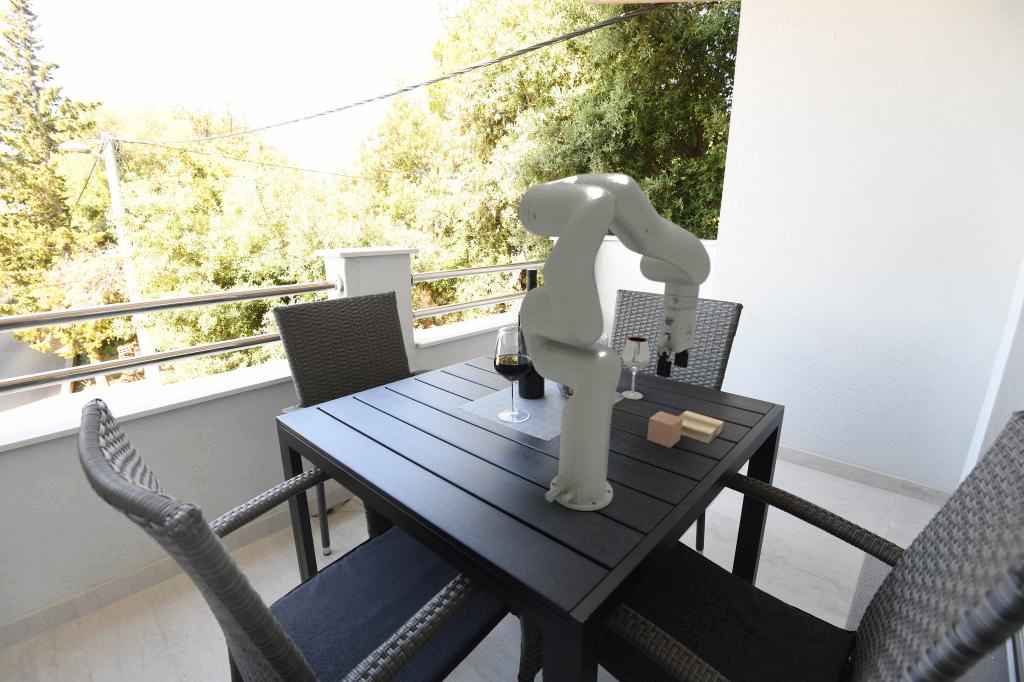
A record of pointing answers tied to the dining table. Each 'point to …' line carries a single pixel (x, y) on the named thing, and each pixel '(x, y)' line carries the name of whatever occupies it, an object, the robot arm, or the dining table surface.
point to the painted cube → (664, 429)
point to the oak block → (700, 426)
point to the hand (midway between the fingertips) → (671, 371)
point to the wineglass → (635, 361)
